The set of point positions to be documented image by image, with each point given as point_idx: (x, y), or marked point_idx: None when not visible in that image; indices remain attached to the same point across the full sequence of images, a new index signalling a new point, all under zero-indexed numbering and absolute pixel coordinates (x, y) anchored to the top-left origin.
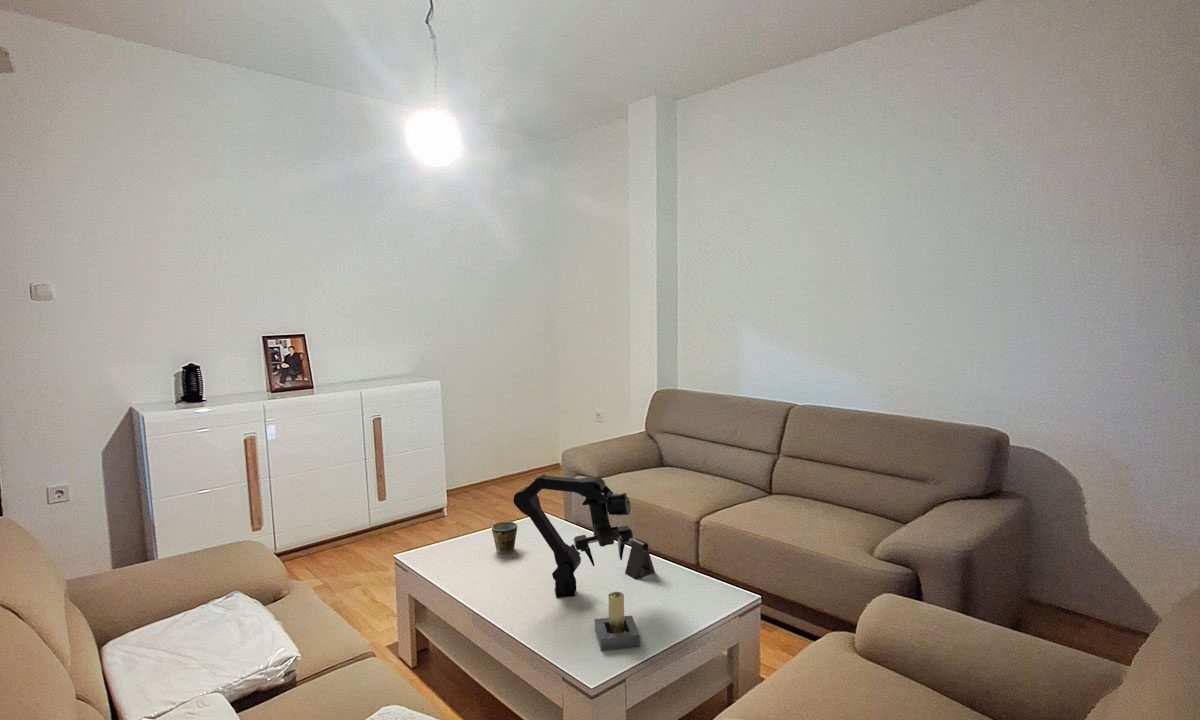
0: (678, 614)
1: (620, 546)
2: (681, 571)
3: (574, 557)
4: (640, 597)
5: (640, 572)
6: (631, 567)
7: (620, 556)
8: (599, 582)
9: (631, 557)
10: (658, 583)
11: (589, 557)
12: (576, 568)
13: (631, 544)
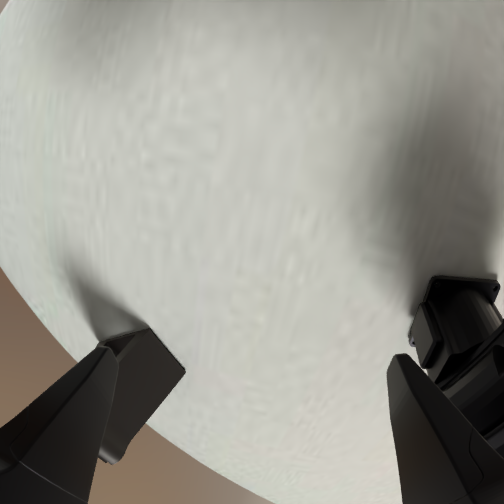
0: (41, 45)
1: (18, 456)
2: (42, 317)
3: (492, 446)
4: (136, 188)
5: (127, 345)
6: (153, 376)
7: (87, 372)
8: (291, 352)
9: (141, 409)
10: (81, 277)
11: (472, 435)
12: (461, 384)
13: (124, 449)
